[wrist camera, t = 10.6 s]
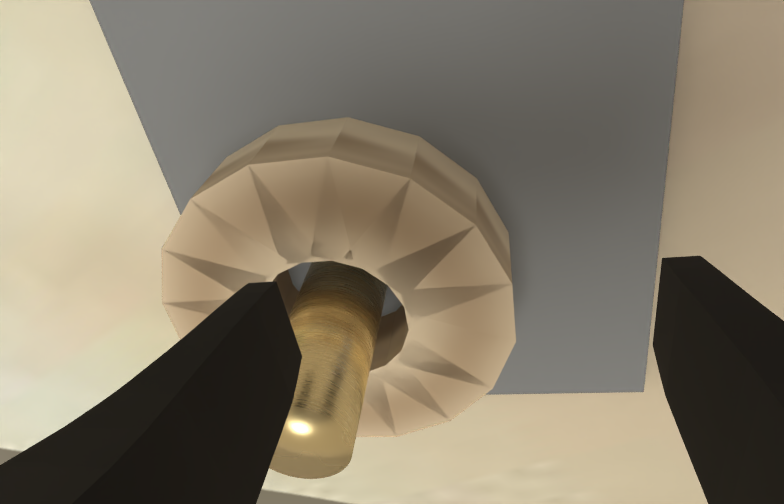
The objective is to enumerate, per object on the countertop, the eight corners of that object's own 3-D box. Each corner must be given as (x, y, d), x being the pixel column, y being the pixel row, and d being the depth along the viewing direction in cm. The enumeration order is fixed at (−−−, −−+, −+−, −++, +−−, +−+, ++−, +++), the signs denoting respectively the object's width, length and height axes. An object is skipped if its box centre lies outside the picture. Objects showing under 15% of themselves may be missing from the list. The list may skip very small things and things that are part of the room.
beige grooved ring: (499, 99, 17) (502, 138, 15) (518, 377, 24) (522, 436, 21) (148, 140, 20) (101, 180, 17) (252, 383, 26) (228, 436, 24)
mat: (742, -673, 10) (756, -701, 9) (640, 380, 24) (643, 391, 23) (-60, -389, 13) (-80, -398, 13) (262, 388, 27) (258, 398, 27)
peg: (382, 233, 21) (338, 405, 14) (396, 297, 22) (362, 479, 16) (304, 239, 21) (227, 407, 15) (323, 302, 23) (261, 478, 16)
